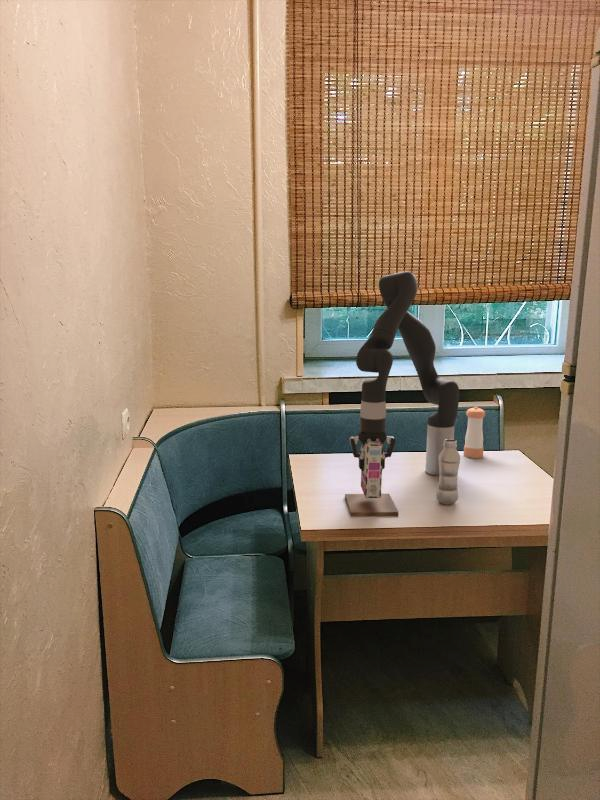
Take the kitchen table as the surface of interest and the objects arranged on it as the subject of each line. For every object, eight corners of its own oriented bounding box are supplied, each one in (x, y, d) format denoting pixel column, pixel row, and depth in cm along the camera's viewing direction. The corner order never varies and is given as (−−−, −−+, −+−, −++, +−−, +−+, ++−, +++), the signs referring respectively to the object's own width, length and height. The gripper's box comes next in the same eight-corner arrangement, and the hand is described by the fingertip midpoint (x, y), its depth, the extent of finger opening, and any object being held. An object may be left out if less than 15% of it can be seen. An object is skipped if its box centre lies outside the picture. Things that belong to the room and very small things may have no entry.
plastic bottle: (433, 499, 219) (436, 438, 215) (454, 499, 220) (457, 437, 215) (439, 507, 213) (442, 443, 209) (460, 506, 213) (464, 443, 209)
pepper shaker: (464, 457, 264) (466, 408, 260) (462, 452, 271) (465, 404, 267) (483, 458, 263) (486, 409, 259) (482, 453, 270) (485, 404, 266)
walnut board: (388, 497, 221) (389, 493, 221) (398, 515, 206) (398, 511, 205) (344, 497, 220) (344, 494, 220) (350, 516, 205) (350, 512, 205)
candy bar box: (382, 498, 207) (383, 444, 203) (365, 498, 207) (366, 445, 203) (376, 485, 218) (377, 435, 214) (360, 486, 218) (361, 435, 214)
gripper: (394, 412, 211) (392, 466, 215) (347, 412, 211) (346, 466, 214) (399, 418, 204) (397, 473, 207) (350, 418, 203) (349, 474, 207)
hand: (371, 469), depth 211 cm, fingers closed on candy bar box, 5 cm apart
